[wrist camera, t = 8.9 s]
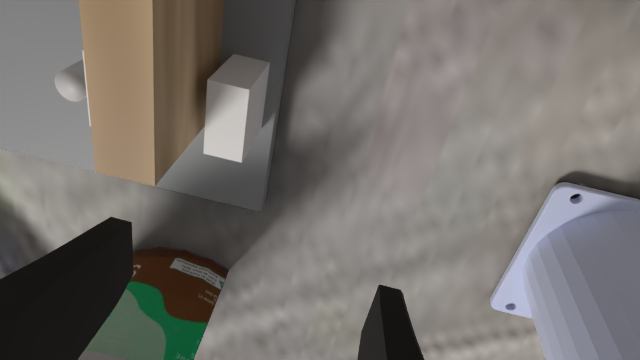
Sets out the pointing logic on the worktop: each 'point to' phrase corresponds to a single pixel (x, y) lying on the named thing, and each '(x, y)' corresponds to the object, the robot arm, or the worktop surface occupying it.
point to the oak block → (147, 80)
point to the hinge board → (221, 101)
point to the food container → (160, 308)
